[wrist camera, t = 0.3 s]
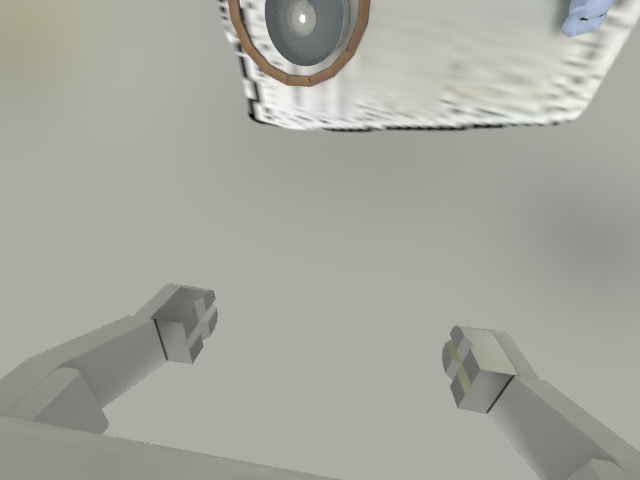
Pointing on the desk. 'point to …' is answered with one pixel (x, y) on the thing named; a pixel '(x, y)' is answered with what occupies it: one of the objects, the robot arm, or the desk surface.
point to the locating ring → (292, 79)
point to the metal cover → (307, 28)
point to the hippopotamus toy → (585, 16)
